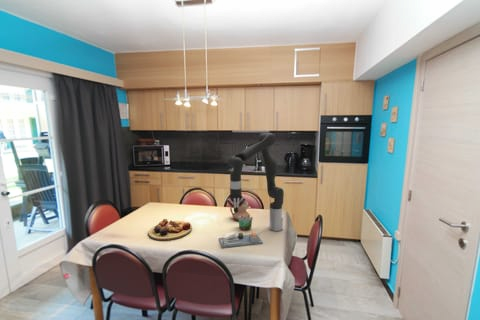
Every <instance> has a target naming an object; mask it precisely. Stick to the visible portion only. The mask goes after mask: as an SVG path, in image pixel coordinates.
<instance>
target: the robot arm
mask: <svg viewBox="0 0 480 320" xmlns="http://www.w3.org/2000/svg"><path fill="white" fill-rule="evenodd" d="M276 140H277V138H276V135H275V134H274V133H271V132H261V133H260V134H259V135H258V142H256V143H255V144H252V145H249V146H248V147H246V148H245V149H243V150H242V151H241V152H238V153H235V154H233V155H232V156H230V157H229V158H228V160H227V165H228V166H229V167H230V168H233V171H231V172H230V174H229V177H230V179H229V180H230V182H229V197H228V198H226V202H227V203H228V205H230V207H234V208H233V213H237V212H238V207H239V206H241V205H242V204H243V203H244V201H245V202H246V199H245V197H243V196H242V194H243V193H242V171H243V167H244V162H246V161H248V160H250V159H251V158H253V156H256V155H257V154H258V153H260V152H261V155H262V159H263V166H264V171H265V178H266V185H267V187H266V189H267V195H268V197H269V198H271V199H273V202H271V203H270V204H269V230H270V231H273V232H280V231H281V230H284V229H283V225H284V224H283V223H284V218H283V215H282V214H283V205H284V196H285V193H284V192H285V191H284V189H283V188H282V187H279V186H277V185H276V182H275V179H276V176H277V173H278V165H277V164H278V163H277V161H276V158H275V157H274V155H273V153H272V152H271V150H270V147H271V146H273V145H274V144H275V143H276ZM239 201H240V203H239Z"/></svg>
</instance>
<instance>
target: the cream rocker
mask: <svg viewBox="0 0 480 320" xmlns="http://www.w3.org/2000/svg"><path fill="white" fill-rule="evenodd" d="M226 235H227V240H228V239H230V238H232V237H234V236H237V235H236V233H235V230H232V231H230V232H229V233H227V234H226Z"/></svg>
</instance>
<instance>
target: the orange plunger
mask: <svg viewBox="0 0 480 320" xmlns="http://www.w3.org/2000/svg"><path fill="white" fill-rule="evenodd" d="M250 234H251V237H257V234H258V233H257V231H254V230H253V231H251V233H250Z"/></svg>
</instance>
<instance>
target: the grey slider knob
mask: <svg viewBox="0 0 480 320" xmlns="http://www.w3.org/2000/svg"><path fill="white" fill-rule="evenodd" d="M222 238H223V244H227V234H223V235H222Z"/></svg>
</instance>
